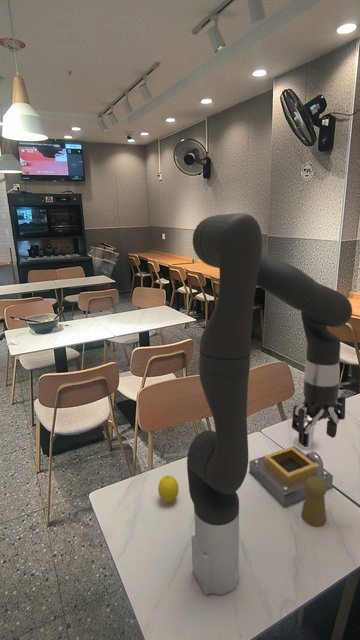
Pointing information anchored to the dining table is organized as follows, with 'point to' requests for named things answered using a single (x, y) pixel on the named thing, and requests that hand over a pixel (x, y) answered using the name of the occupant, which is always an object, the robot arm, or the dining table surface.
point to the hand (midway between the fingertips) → (317, 440)
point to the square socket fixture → (288, 473)
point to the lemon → (168, 488)
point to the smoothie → (309, 435)
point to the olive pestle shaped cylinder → (314, 502)
